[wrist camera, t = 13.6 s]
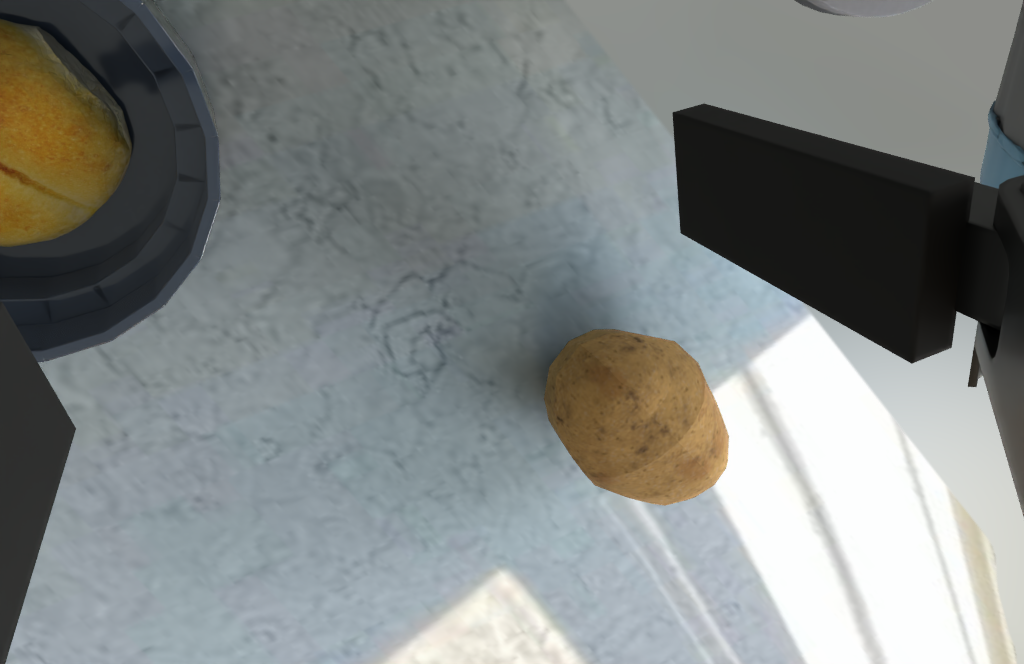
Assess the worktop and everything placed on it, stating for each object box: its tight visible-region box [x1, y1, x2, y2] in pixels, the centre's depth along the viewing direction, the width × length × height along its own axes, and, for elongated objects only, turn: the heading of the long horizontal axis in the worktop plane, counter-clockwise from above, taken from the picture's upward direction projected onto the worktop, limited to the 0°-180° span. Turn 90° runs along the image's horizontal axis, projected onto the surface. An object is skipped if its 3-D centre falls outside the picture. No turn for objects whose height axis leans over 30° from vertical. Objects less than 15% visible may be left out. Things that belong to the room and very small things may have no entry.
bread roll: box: [0, 19, 132, 247], centre depth 29 cm, size 8×9×4 cm
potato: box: [544, 329, 729, 505], centre depth 45 cm, size 10×14×8 cm
